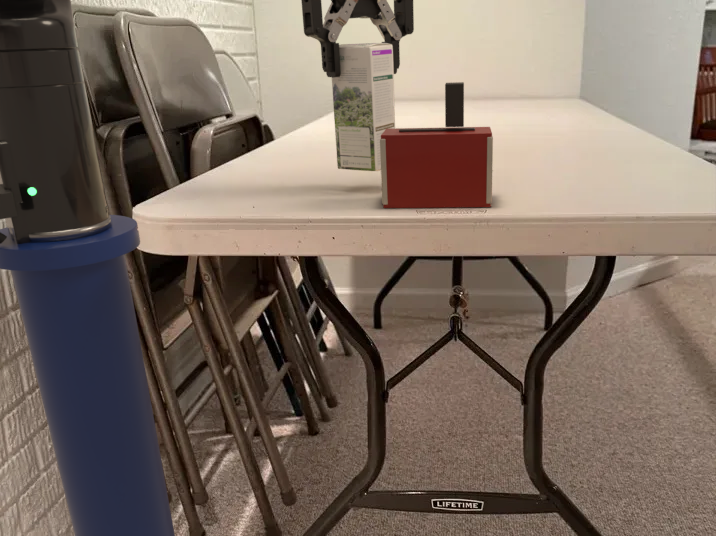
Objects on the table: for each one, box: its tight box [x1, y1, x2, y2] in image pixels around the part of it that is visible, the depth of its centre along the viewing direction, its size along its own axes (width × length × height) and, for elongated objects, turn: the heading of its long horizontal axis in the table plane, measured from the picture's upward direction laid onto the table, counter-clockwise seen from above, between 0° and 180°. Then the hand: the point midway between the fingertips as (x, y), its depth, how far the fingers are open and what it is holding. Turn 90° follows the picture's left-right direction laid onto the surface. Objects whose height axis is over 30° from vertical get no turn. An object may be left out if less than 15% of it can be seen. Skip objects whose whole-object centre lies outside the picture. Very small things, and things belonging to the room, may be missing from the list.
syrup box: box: [331, 42, 396, 172], centre depth 87 cm, size 6×6×14 cm
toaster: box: [380, 126, 494, 209], centre depth 81 cm, size 12×6×8 cm, turn 86°
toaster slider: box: [444, 81, 465, 128], centre depth 79 cm, size 2×2×4 cm
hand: (362, 75), depth 86 cm, fingers closed on syrup box, 7 cm apart
